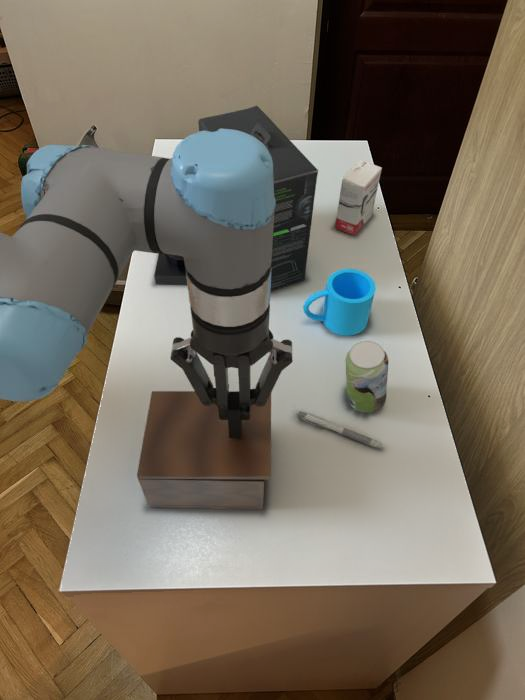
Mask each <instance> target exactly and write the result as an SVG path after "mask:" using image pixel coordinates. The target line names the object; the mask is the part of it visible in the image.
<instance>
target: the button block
mask: <svg viewBox="0 0 525 700" xmlns="http://www.w3.org/2000/svg"><path fill="white" fill-rule="evenodd" d="M157 255H158V256H157V261H156V264H155V265H156V266H155V270H154V275H153V276H154V282H155V285H174V286H178V285H179V286H187V278H186V269H185V262H184V258H183V257H182V256H178V255H171V254H166V255H163V254H157Z"/></svg>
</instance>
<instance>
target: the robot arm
mask: <svg viewBox="0 0 525 700" xmlns="http://www.w3.org/2000/svg"><path fill="white" fill-rule="evenodd" d="M20 195H21V197H20V198H21V204H22V209H23V213H24V215H25V217H26V219H25V220H24V221H23V223H22V224H21V225H20V226H19V227H18V228H17V230H16V231H15V232H14V233H13V235H12V236H11V235H8V234H6V233H4V232H1V231H0V400H4V401H10V402H18V403H19V402H22V403H23V402H24V403H25V402H27V403H28V402H34V401H37V400H38V401H39V400H41V399H43V398H45V397H47V396H49V395H50V394H51V393H52V392H53V391H55V389H56V388H57V387H58V385H59V384H60V382H61V380H62V379H63V377H64V376H65V374H66V372H67V371H68V369H69V368H70V367H71V365H72V363H73V361H74V360H75V358H76V357H77V356H78V354H79V353H80V351H82V350H84V349H85V346H86V345H87V341H88V335H89V334H90V332H91V329H92V328H93V326H94V324H95V322H96V320H97V318H98V316H99V315H100V312H101V311H102V309H103V307H104V305H105V304H106V302H107V300H108V298H109V296H110V294H111V292H112V291H113V289H114V287H115V285H116V284H117V282H118V280H119V279H120V276H121V275H122V273H123V271H124V269H125V267H126V266H127V264H128V262H129V261H130V259H131V257H132V255H133V252H135V251H136V252H141V253H149V254H157V255H159V254H163V255H166V254H171V255H178V256H182V257H183V258H184V262H185V269H186V278H187V285H186V286H187V292H188V301H189V305H190V307H189V308H190V316H191V323H192V330H191V332H190V337H188V338H186V339H184V338H183V337H180V336H177V337H174V338H173V339H172V347H171V352H170V360H171V361H172V362H173V363H174V364H175V365H177V366H178V367H179V368H180V369H181V370H182V371H183V373H184V375H185V377H186V378H187V380H188V382H189V384H190V385H191V387H192V389H193V391H195V392H196V394H197V396H198V398H199V399H200V401H201V403H202V404H203V405H205V406H210V405H211V404H216V405H217V407H218V413H219V418H220V419H221V420H228V428H229V438H241V424H242V420H249V419H250V407H251V406H252V405H254V404H255V405H256V406H258V407H263V406H265V404H266V402H267V400H268V398H269V396H270V394H271V395H272V392H273V390H274V388H275V387H276V384H277V382H278V379H279V377H280V376H281V373H282V371H283V370H285V369H286V368H287V367H288V366H290V365H291V364H292V363H293V341H292V340H291V339H282V340H281V341H279V340H276V339H274V334H273V332H272V330H270V311H271V305H270V302H271V291H270V290H271V269H272V267H271V258H272V242H273V226H274V211H275V205H276V200H275V197H274V181H273V161H272V157H271V155H270V153H269V151H268V149H267V148H266V146H265V145H264V144H263V143H262V142H261V141H259V140H258V139H256V138H255V137H253V136H251V135H249V134H247V133H244V132H241V131H238V130H232V129H219V130H217V131H215V132H209V131H200V132H199V131H196V132H194V133H192V134H190V135H187V136H186V137H185V138H184V139H182V140H181V141H180V142H179V143H178V144H177V145H176V146H175V148H174V150H173V154H172V157H171V158H169V157H162V156H156V155H149V154H142V153H136V152H128V151H124V150H123V151H121V150H115V149H108V148H102V147H98V146H94V145H87V144H82V145H81V146H80V145H67V144H66V145H64V144H49V145H45V146H42V147H40V148H38V149H37V150H35V152H34V153H32V155H30V157H29V159H28V160H27V163H26V174H25V175H23V176H22V179H21V184H20ZM267 354H268V357H267V358H266V359H267V360H266V362H265V364H264V366H263V368H262V370H261V372H260V375H259V378H258V380H257V382H256V384H255V388H252V387H251V385H252V383H251V381H252V380H251V373H252V372H251V371H252V370H251V367H252V366H253V365H255V364H256V363H257V362H259V361H260V360H261V359H262V358H263V357H265V356H266V355H267ZM200 357H202V358H203V359H204V360H205V361H207V362H208V363H209V364H210V365H212V367H213V376H214V383H215V387H214V384H213V382H212V380H211V378H210V376H209V374H208V372H207V370H206V368H205V366H204V364H203V363H202V360H201V358H200ZM229 368H234V369H237V377H238V391H239V392H229V391H230V383H229Z"/></svg>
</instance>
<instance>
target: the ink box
mask: <svg viewBox="0 0 525 700" xmlns="http://www.w3.org/2000/svg"><path fill="white" fill-rule="evenodd" d="M382 169H383V167H381V166H379V165H376V164H373V163H371V162H368V161H366V160H362V159H360V160H358V161H357V162H356V163H355V164H354V166H352V167H351V168H350V169H349V170H348V171H347V173H346V174H345V175H344V176H342V177H343V178H342V180H341V185H340V193H339V197H338V198H339V199H338V205H337V213H336V218H335V224H334V229H336V230H339V231H341V232H343V233H346V234H348V235H351V236H356V235H357V233H358V232H359V231H360V230H361V229H362V228H363V226H364V225H365V224H366V223H367V222H368V221H369V220H370V218H371V217H372V216H373V211H374V207H375V203H376V199H377V198H376V197H377V193H378V188H379V182H380V178H381V174H382Z"/></svg>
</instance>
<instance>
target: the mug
mask: <svg viewBox="0 0 525 700" xmlns="http://www.w3.org/2000/svg"><path fill="white" fill-rule="evenodd" d="M376 290H377V287H376V282H375V280H374V279H373V277H372V276H370V275H369V274H367V272H364V271H362V270H359V269H355V268H343V269H338V270H336V271H334V272H332V273H331V274H330V275H329V276H328V278H327V281H326V287H325V289H322V290H319V291H316V292H314V293H313V294H312V295H309V297H308V298H307V299H305V301H304V303H303V306H302V309H303V314H304V315H306V317H307V318H308V319H311V320H314V321H322V323H323V324H324V326H325V327H326V328H327V329H328V330H329V331H330V332H332V333H334V334H336V335H339V336H342V337H343V336H351V337H352V336H355V335H358V334H360V333H362V332H363V331H364V330H365V329H366V328H367V325H368V322H369V318H370V314H371V310H372V305H373V301H374V298H375V294H376ZM323 297H324V300H323V306H322V311H321V312H322V313H321V314H318V313H313V312H311V311H310V309H309V308H310V306H311V305H312V304H313V303H314V302H315V301H316V300H318V299H320V298H323Z"/></svg>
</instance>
